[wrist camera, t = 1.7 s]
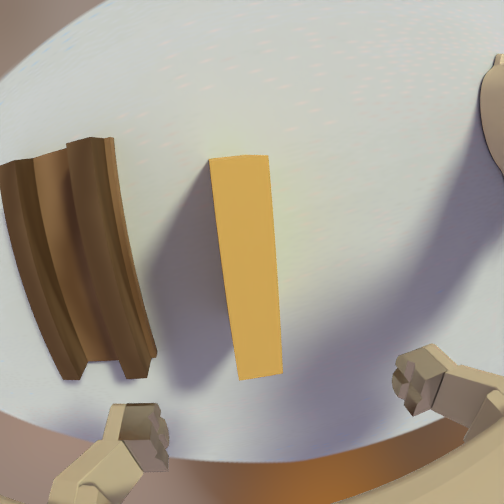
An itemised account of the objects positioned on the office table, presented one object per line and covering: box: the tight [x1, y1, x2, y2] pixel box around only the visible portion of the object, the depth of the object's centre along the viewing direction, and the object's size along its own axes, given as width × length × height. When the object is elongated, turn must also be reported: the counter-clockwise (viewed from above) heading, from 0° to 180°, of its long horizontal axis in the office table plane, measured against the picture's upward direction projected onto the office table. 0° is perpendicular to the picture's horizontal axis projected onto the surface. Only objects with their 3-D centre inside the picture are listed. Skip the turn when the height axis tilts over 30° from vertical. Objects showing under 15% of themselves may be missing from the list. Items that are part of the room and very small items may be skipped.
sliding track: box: [0, 137, 157, 380], centre depth 22 cm, size 10×20×4 cm, turn 5°
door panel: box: [209, 155, 283, 381], centre depth 22 cm, size 3×14×9 cm, turn 5°
